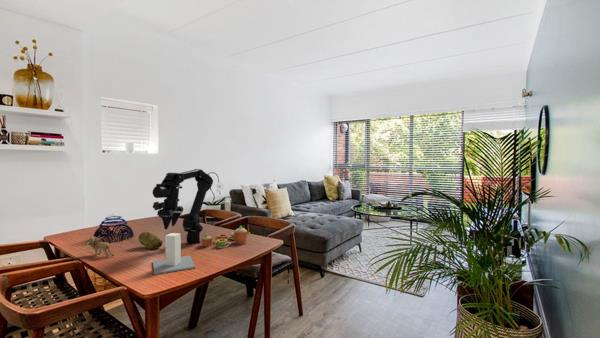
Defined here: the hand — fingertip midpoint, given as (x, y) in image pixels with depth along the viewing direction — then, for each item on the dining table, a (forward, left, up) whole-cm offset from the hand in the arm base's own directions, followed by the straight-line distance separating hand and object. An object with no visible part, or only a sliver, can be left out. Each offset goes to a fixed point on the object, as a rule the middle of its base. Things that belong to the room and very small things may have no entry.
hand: (169, 227), depth 153 cm
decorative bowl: (+28, -40, -12) cm, 50 cm away
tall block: (0, +23, -11) cm, 25 cm away
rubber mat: (0, +23, -12) cm, 26 cm away
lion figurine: (+30, -7, -12) cm, 33 cm away
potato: (+9, -10, -12) cm, 18 cm away
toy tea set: (-29, 0, -13) cm, 31 cm away
